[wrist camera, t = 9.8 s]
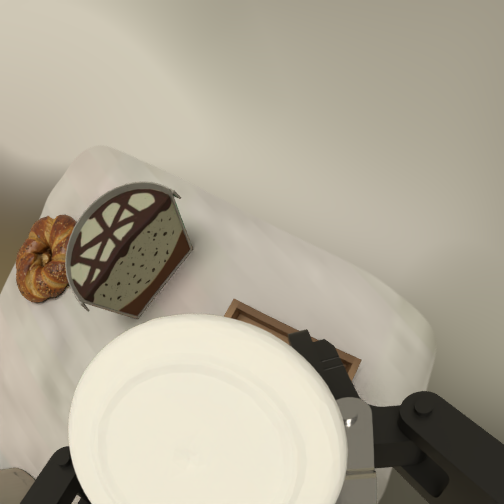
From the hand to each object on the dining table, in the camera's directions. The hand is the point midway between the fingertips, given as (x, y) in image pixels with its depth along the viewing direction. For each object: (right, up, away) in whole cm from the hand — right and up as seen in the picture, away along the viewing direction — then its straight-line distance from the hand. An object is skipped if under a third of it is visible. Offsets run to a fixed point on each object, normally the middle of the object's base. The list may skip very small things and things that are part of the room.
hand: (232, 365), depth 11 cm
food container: (-11, +2, +22) cm, 24 cm away
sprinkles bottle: (+1, -4, +5) cm, 7 cm away
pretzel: (-24, +3, +23) cm, 34 cm away
